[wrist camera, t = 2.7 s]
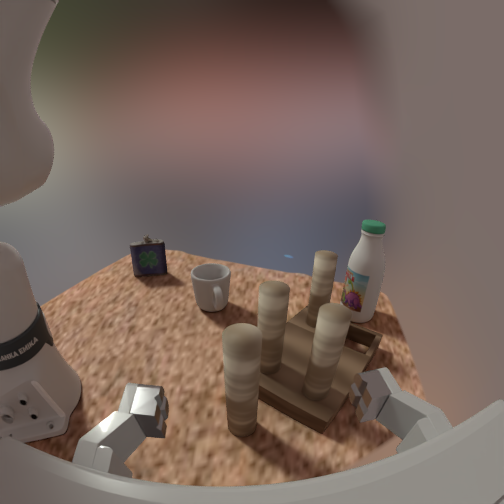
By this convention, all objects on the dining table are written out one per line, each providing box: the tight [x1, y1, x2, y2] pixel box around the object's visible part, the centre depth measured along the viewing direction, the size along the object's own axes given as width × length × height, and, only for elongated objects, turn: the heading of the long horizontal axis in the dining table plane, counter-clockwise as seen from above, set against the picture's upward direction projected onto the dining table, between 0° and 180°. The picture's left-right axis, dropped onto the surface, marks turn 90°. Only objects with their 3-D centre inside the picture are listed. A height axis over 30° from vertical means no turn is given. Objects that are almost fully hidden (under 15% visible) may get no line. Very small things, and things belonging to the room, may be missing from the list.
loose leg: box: [222, 323, 262, 437], centre depth 27 cm, size 4×4×16 cm
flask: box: [130, 234, 167, 277], centre depth 67 cm, size 9×3×11 cm, turn 106°
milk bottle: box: [340, 220, 386, 323], centre depth 50 cm, size 8×8×20 cm
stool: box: [257, 251, 382, 433], centre depth 38 cm, size 22×16×16 cm
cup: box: [191, 264, 231, 312], centre depth 54 cm, size 11×8×8 cm
